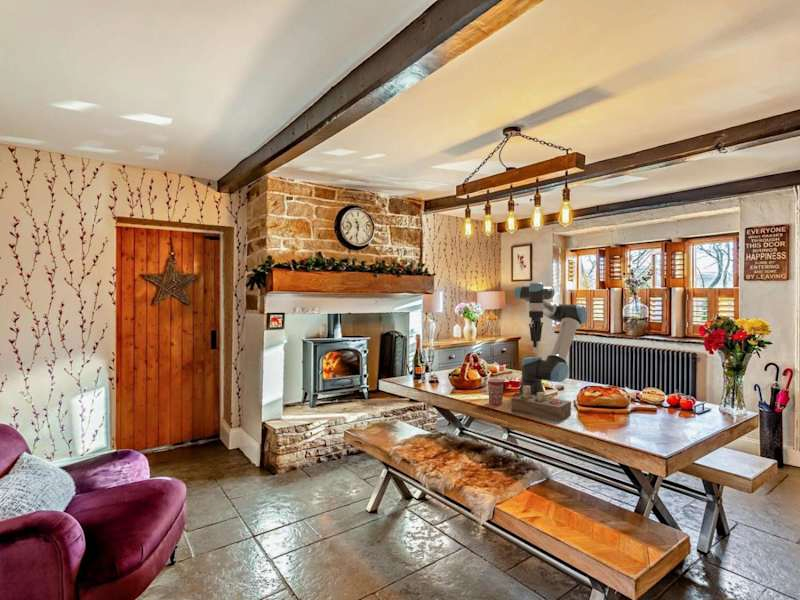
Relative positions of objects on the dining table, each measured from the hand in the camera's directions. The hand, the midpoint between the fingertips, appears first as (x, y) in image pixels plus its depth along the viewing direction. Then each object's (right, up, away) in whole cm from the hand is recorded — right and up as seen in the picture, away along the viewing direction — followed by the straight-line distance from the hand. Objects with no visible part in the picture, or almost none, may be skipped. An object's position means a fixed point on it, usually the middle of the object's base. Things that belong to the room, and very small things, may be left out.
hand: (535, 352), depth 247 cm
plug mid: (-2, -28, -15) cm, 31 cm away
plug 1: (-8, -25, -9) cm, 28 cm away
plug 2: (+4, -29, -20) cm, 36 cm away
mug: (-20, -30, +6) cm, 36 cm away
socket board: (-2, -30, -15) cm, 33 cm away
